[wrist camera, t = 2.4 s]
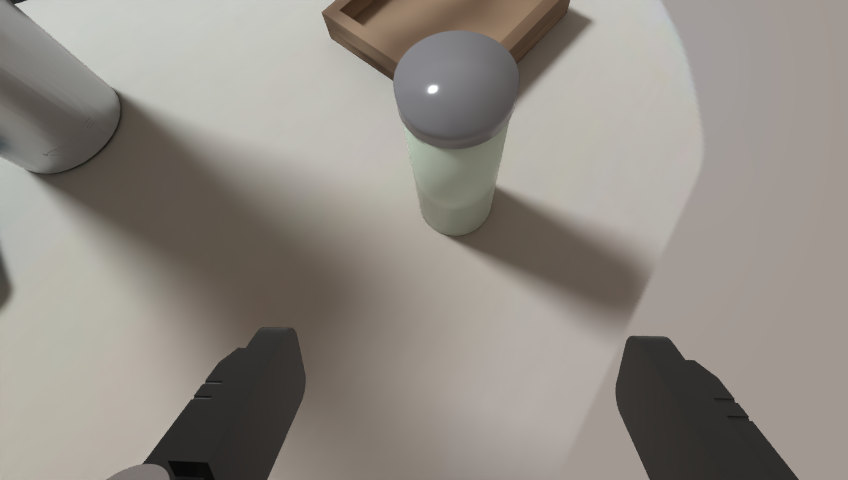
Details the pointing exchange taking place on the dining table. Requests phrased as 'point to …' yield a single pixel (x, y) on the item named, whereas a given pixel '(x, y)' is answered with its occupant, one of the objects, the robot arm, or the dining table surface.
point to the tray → (436, 24)
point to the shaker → (456, 123)
